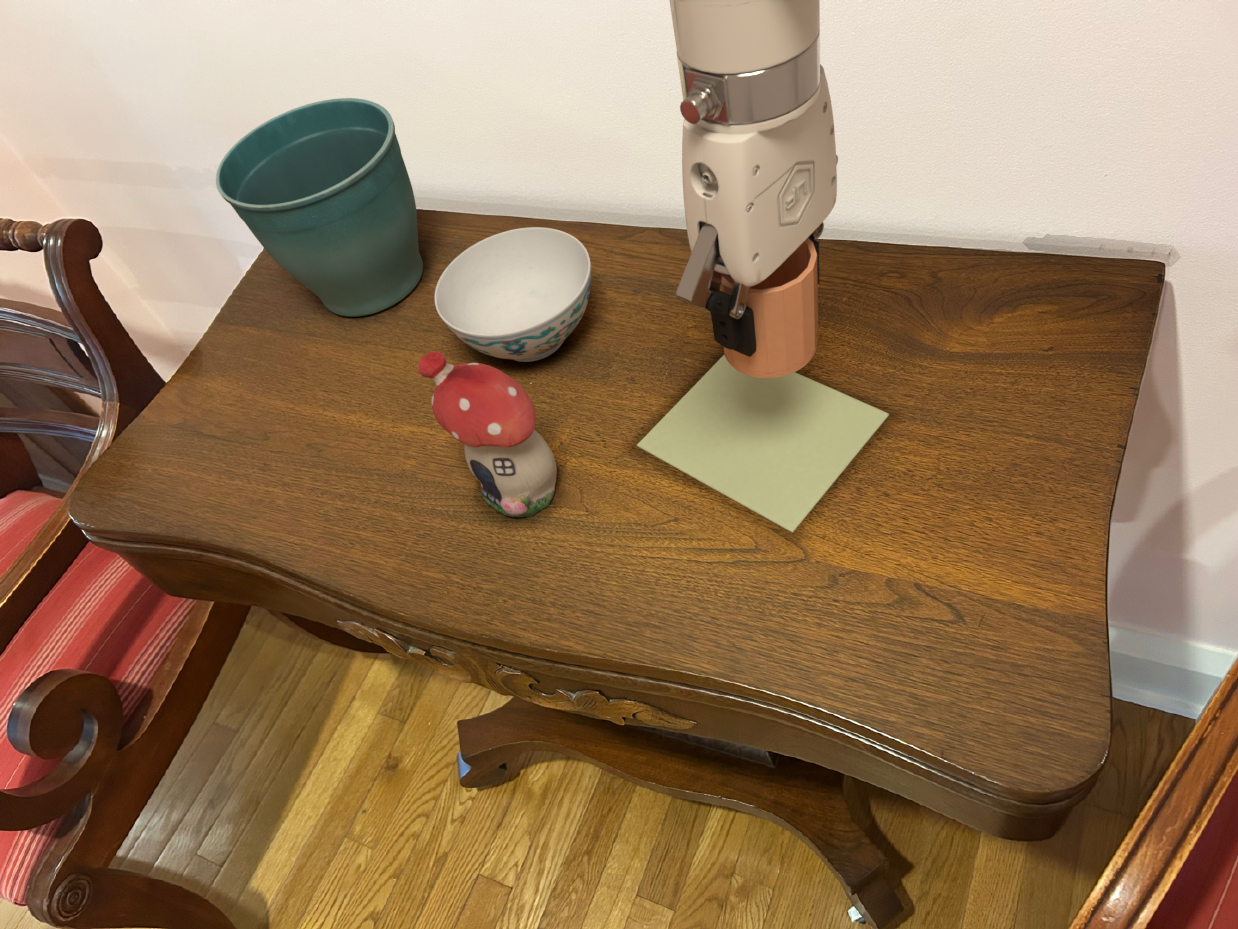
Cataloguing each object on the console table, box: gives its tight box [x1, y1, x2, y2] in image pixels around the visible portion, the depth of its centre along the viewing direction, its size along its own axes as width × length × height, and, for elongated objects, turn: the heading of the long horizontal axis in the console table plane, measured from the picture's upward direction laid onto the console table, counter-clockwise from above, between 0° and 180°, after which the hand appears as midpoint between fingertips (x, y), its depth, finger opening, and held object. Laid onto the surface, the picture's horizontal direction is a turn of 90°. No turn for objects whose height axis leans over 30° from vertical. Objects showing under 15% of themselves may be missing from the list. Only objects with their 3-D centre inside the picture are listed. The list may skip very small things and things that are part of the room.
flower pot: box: [215, 97, 424, 318], centre depth 89 cm, size 18×18×17 cm
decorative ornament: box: [417, 350, 558, 518], centre depth 68 cm, size 9×7×15 cm
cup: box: [720, 238, 819, 378], centre depth 59 cm, size 7×7×8 cm
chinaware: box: [434, 226, 592, 363], centre depth 82 cm, size 15×15×8 cm
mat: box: [636, 353, 890, 534], centre depth 72 cm, size 16×14×1 cm
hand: (767, 312), depth 60 cm, fingers closed on cup, 6 cm apart
